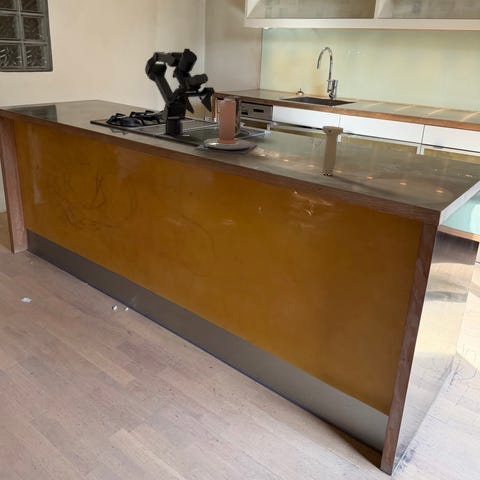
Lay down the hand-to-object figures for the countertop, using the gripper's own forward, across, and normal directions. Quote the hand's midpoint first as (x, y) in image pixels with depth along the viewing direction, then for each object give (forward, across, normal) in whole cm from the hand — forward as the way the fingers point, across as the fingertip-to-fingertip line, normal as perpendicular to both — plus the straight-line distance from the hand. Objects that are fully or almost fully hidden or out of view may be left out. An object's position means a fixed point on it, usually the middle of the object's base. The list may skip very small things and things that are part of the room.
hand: (202, 112), depth 188 cm
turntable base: (+16, +3, 0) cm, 17 cm away
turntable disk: (+16, +3, 0) cm, 17 cm away
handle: (+50, +1, -35) cm, 61 cm away
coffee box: (+3, +25, +15) cm, 29 cm away
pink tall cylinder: (+15, +3, -1) cm, 15 cm away
